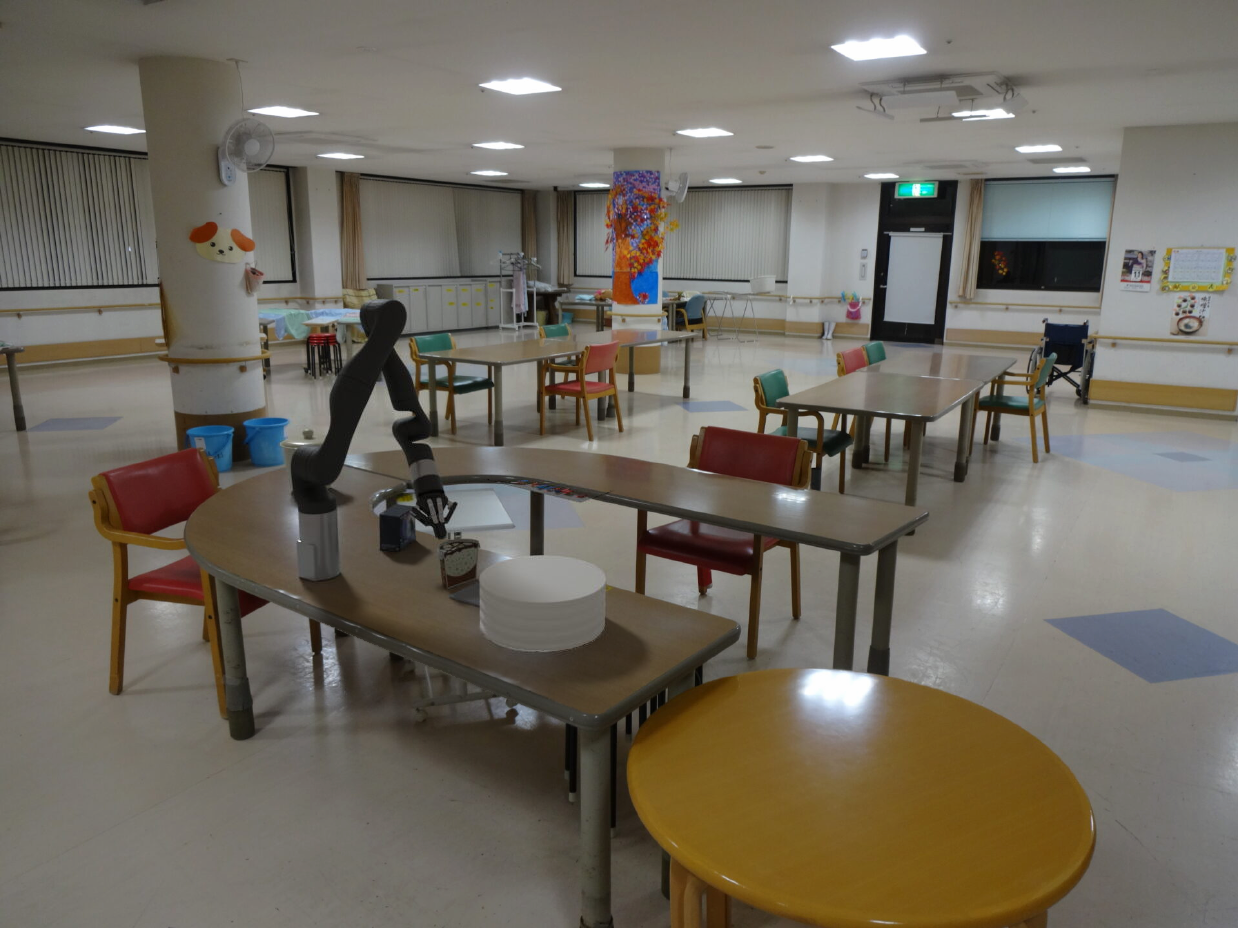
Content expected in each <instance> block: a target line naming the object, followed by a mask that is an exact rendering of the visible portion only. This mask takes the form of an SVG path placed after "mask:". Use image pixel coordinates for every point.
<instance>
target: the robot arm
mask: <svg viewBox="0 0 1238 928" xmlns="http://www.w3.org/2000/svg"><path fill="white" fill-rule="evenodd" d="M358 315H359V321H360V324H361V327H362V329H363V332H364V334H365V337H366V338H367V340H366V341H365V343H364V344H363V345H362V347H360V349H359V350H358V351H357V352H356V353H355V354H354V355H353V356H352V357H350V359H349V360H348V361H347V362H346V363H345V364H344V365H343V367H341V369H340V370H339V373H338V374H337V377H336V379H335V381H334V383H333V385H332V386H331V387H332V388H331V390H330V392H329V398H328V400H329V401H328V402H329V403H328V405H329V416H330V417H329V418H330V420H329V421H330V422H329V426H328V427H329V428H328V431H327V433H326V435H325V436H326V438H325V440H324V442H323V444H322V446H321V447H320V446H315V445H302V446H300V447H299V448H297V449H296V450H295V452H294V454H293V456H292V459H291V479H292V487H293V490H292V495H293V497H294V498H293V499H294V501H295V503H296V505H297V515H298V517H297V518H298V533H299V539H298V540H297V541H296V555H297V557H296V558H297V559H296V560H297V569H298V571H297V573H298V577H299V578H302V579H305V580H309V581H311V582H319V581H323V580H329V579H333V578H337V576H339V575H340V573H341V561H340V540H339V519H338V516H339V515H338V501H337V497H336V496H335V495H334V493H332V492H331V491H329V489H327V488H326V486H327V485H330V484H333V483H334V482H335V481H337V479H338V478H339V476H340V475H341V472H342V470H343V467H344V466H345V465H344V464H345V462H346V459H347V455H348V453H349V450H350V446H351V443H352V440H353V438H354V435H355V432H356V429H357V428H358V425H359V422H360V420H361V417H362V416H363V413H364V411H365V408H366V407H367V405H368V402H369V400H370V399H371V396H372V393H373V391H374V389H375V386H376V384H377V381H378V379H379V376H380V375H381V374H382V375H383V378H384V382H385V385H386V388H387V392H388V396H389V399H390V402H391V406H392V408H393V410H394V411H396V412H411V413H413V414H414V415H410V416H406V417H402V418H398V419H396V420H394V421H393V423H392V426H391V432H392V435H393V437H394V439H395V441H396V442H397V443H398V445H399V446H400V447H401V450H402V452H403V453H404V456H405V458H406V462H407V466H408V471H409V477H410V482H411V485H412V488H413V492H414V494H415V495H414V496H415V499H416V503H415V505H414V506H415V507H412V508H411V511H410V515H412V516H413V517H414V518H415V520H417V521H418V522H419V523H421V524H422V525H423V526H424V527H431V528H432V530H433V534H434V537H435V538H436V539H437V540H441V541H442V540H444V539H445V538H446V537H447V534H448V532H447V528H446V525H447V524H449V523H450V521H451V518H452V516H453V515H454V512H455V511H456V509H457V507H458V502H457V501H451V500H449V498H448V496H447V495H446V493H445V489H444V485H443V482H442V478H441V475H440V470H439V469H438V466H437V463H436V461H435V457H434V453H433V450H432V448H431V446H430V444H428V443H424V442H418V441H422V440H426V439H429V438H430V437H432V434H433V425H432V423H431V420H430V419H429V417H428V416H427V414H426V412H425V411H424V409H423V407H422V405H421V404H420V401H419V397H418V395H417V391H416V387H415V382H414V380H413V377H412V374H411V373H410V371H409V369H408V368H407V367H408V366H406V364H405V363H404V362H403V360H402V359H401V357H400V356H399V354H398V353H397V352H398V351H396V348H395V345H396V343H397V342H398V340H399V339H400V337H401V335H402V333H403V331H404V330H405V327H406V324H407V320H408V319H407V318H408V313H407V308H406V307H405V304H404V303H402V302H401V301H399V300H397V299H391V298H380V299H379V298H374V299H373V298H372V299H368V300H366V301H364V303H363V304H362V305H361V306H360V308H359V313H358ZM446 507H447V510H448V512H447V514H446V516H444V512H445V508H446Z"/></svg>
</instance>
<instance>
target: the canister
mask: <svg viewBox="0 0 1238 928" xmlns="http://www.w3.org/2000/svg"><path fill="white" fill-rule="evenodd" d="M325 438H326V435H323V434H315V433H314V431H313V429H311V428H304V429H303V431H302V434H300V435H294V436H290V437H287V438H285V439H284V440H283V441H281V442H280V443H279V446H280V447H281V449H282V456H283V460H284V467H285V471H286V477H287V482H288V485H289V487H290V489H291V491H293V487H292V479H291V459H292V456H293V454H294V452H295V450H296V449H297V448H299V447H300V446H302V445H315V446H320V447H321V446H322V444H323V442H324V440H325ZM332 484H333V483H332ZM332 484H330V485H327V486H326V488H327V489H328V490H329V489H330V488H331V486H332Z"/></svg>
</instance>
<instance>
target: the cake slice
mask: <svg viewBox="0 0 1238 928" xmlns="http://www.w3.org/2000/svg"><path fill="white" fill-rule="evenodd" d="M479 549H481V544H480V540H477V539H473V538H454V539H453V538H452V539H448V540H446V541H445V540H444V541H443V542H441V543H440V544H439V545H438V547H437V549H436V555H435V556H436V557H437V558H438V559H439V566H440V575H441V583H442V587H444V588H445V589H447V590H449V589H451V588H454V587H458V586H460V585H462V584H463V585H464V584H466V583H468V582H470V581H474V580H476V579H477V575H478V574H477V571H478V562H479V561H478V558H479Z"/></svg>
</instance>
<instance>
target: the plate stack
mask: <svg viewBox="0 0 1238 928" xmlns="http://www.w3.org/2000/svg"><path fill="white" fill-rule="evenodd" d="M479 581H480V607H479V630H480V629H481V630H480V632H481V631H482V632H483V634H484V635H485V636H486V637H487V638H489V639H491V640H492V641H495V642H496V643H499V644H501V645H505V646H507V647H512V648H515V649H523V650H541V651H544V650H563V649H569V648H572V647H577V646H579V645H583V644H585V643H588V642H589V641H592V640H593V639H595V638H597V636H599V635H600V634H601V632H602V631H603V629H604V630H605V628H606V620H605V619H606V602H607V601H606V596H607V576H606V574H605V572H604V571H603V570H602V569H601V568H599V566H596V565H595V564H593V563H590V562H588V561H585V560H582V559H579V558H574V557H568V556H561V555H547V554H546V555H527V556H526V555H525V556H524V555H523V556H517V557H513V558H508V559H503V560H502V561H499V562H496V563H494V564H492V565H490V566H488V567H487V568H485V569H483V571H482V572H481V573H480V575H479ZM604 627H605V628H604ZM482 632H481V633H482ZM603 632H604V631H603ZM483 634H482V635H483ZM484 635H483V636H484ZM601 635H602V634H601ZM601 635H600V636H601ZM485 636H484V637H485ZM600 636H599V637H600ZM486 637H485V638H486ZM487 638H486V639H487ZM597 639H598V638H597ZM592 642H593V641H592Z"/></svg>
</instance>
